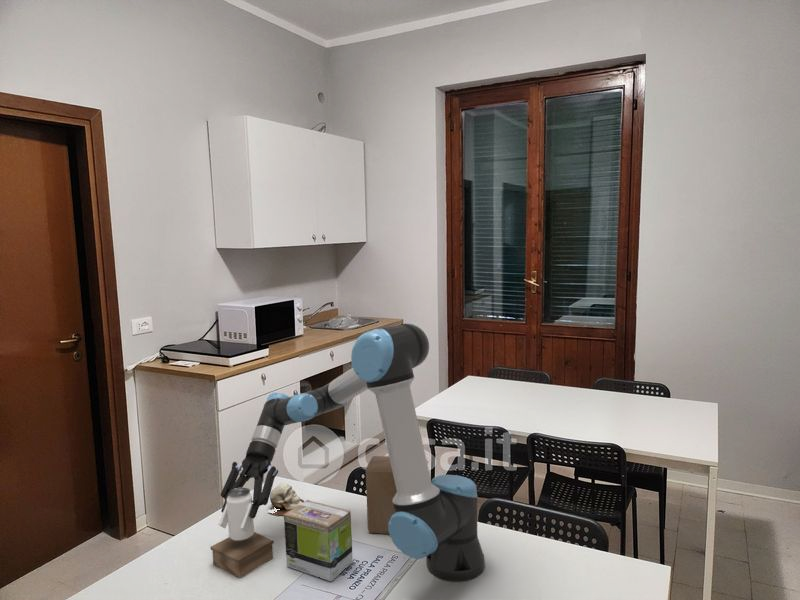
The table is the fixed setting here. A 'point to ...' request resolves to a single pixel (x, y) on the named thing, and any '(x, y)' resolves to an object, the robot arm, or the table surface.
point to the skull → (284, 499)
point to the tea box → (318, 539)
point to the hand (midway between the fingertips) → (232, 528)
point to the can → (238, 513)
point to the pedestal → (242, 554)
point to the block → (379, 494)
